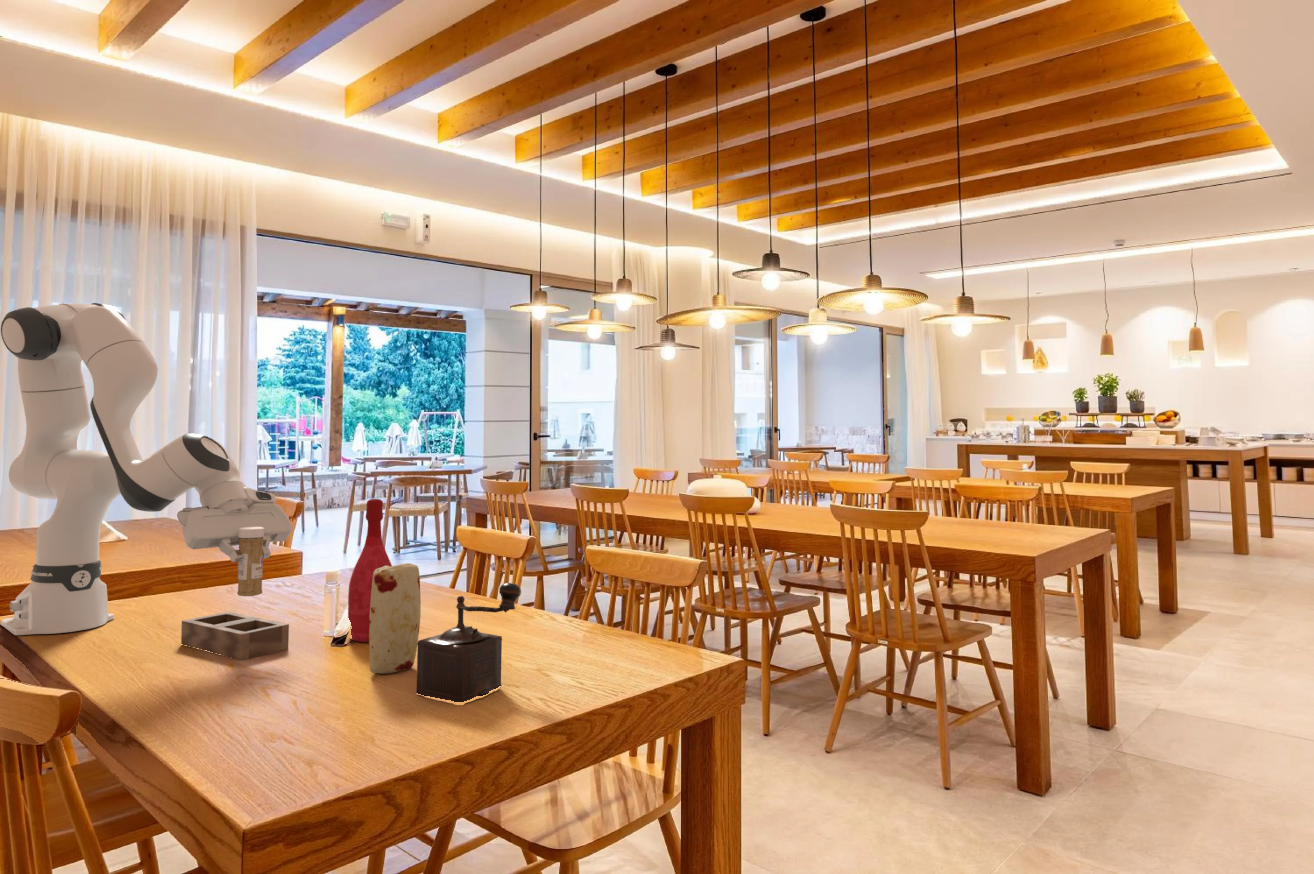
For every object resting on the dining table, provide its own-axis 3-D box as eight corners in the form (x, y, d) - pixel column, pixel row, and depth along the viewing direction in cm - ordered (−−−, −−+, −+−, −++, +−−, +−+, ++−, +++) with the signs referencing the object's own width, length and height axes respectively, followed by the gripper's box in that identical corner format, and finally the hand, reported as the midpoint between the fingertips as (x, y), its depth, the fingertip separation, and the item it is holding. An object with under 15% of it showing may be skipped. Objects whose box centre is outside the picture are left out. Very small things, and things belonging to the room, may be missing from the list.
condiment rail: (181, 645, 158) (181, 620, 158) (228, 634, 167) (229, 611, 167) (241, 660, 148) (241, 634, 148) (288, 648, 157) (288, 624, 157)
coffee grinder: (463, 707, 125) (466, 596, 125) (414, 695, 130) (416, 589, 131) (524, 682, 139) (526, 582, 139) (477, 672, 144) (479, 575, 144)
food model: (378, 680, 138) (381, 568, 138) (359, 672, 142) (362, 564, 142) (426, 669, 145) (429, 562, 145) (407, 661, 150) (409, 558, 150)
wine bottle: (337, 640, 164) (340, 499, 164) (370, 630, 173) (373, 496, 173) (373, 646, 160) (376, 501, 160) (405, 635, 169) (408, 498, 170)
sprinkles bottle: (263, 595, 154) (265, 527, 154) (237, 597, 152) (239, 528, 152) (260, 591, 158) (262, 525, 158) (235, 593, 155) (237, 526, 155)
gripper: (179, 498, 150) (203, 553, 145) (281, 493, 167) (306, 543, 161) (168, 519, 153) (190, 574, 147) (270, 513, 170) (293, 562, 164)
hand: (252, 558), depth 154 cm, fingers closed on sprinkles bottle, 4 cm apart
